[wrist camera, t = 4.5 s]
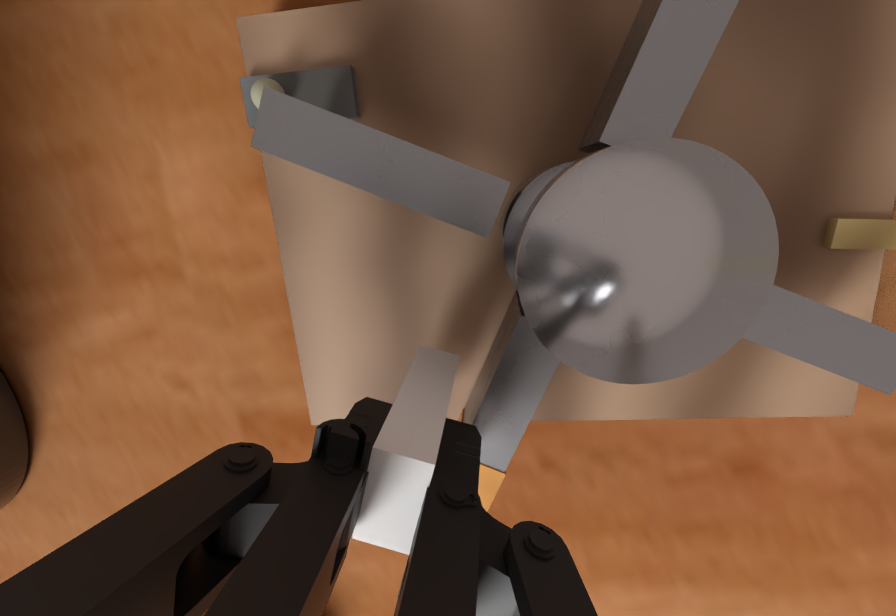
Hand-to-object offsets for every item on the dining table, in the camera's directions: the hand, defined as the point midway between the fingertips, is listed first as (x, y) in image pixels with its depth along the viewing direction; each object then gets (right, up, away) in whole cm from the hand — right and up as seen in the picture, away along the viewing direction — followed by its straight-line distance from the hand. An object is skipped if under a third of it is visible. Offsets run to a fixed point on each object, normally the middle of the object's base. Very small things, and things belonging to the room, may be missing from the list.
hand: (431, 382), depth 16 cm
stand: (+5, +6, +1) cm, 8 cm away
